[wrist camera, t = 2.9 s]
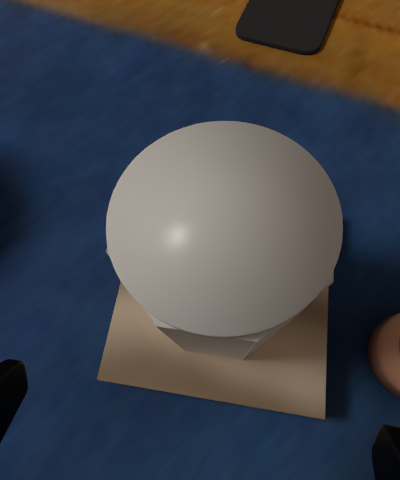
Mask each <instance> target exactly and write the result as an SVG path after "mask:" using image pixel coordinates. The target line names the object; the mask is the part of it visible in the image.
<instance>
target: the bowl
mask: <svg viewBox="0 0 400 480" xmlns="http://www.w3.org/2000/svg"><path fill="white" fill-rule="evenodd" d="M367 355H368V361H369V364H370V367H371V370H372V372H373V374H374V376H375V377H376V379H377V380H378V382H379V383H380V384H381V385H382V386H383V387H384V388H385V389H386V390H387V391H388V392H389V393H391V394H392V395H394V396H395V397H397V398H399V399H400V313H398V314H396V315H393V316H391V317H388V318H386V319H384V320H382V321H381V322H380V323H378V324H377V325H376V327H375V328H374V329H373V331H372V332H371V335H370V337H369V340H368V346H367Z"/></svg>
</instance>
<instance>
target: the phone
mask: <svg viewBox="0 0 400 480" xmlns="http://www.w3.org/2000/svg"><path fill="white" fill-rule="evenodd" d="M338 2H339V0H249V2H248V4H247V6H246V8H245V10H244V11H243V13H242V15H241V17H240V19H239V21H238V23H237V26H236V35H237V36H238V37H239V38H240V39H242V40H244V41H248V42H251V43H255V44H260V45H264V46H268V47H272V48H276V49H280V50H284V51H288V52H292V53H296V54H301V55H312V54H314V53H316V52H317V51H318V50H319V49H320V47H321V45H322V42H323V40H324V37H325V35H326V32H327V30H328V27H329V25H330V22H331V20H332V17H333V15H334V12H335V10H336V7H337V5H338Z"/></svg>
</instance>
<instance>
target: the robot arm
mask: <svg viewBox="0 0 400 480" xmlns="http://www.w3.org/2000/svg"><path fill="white" fill-rule="evenodd" d="M27 389H28V381H27V375H26V369H25V364H24V363H23V362H22V361H18V360H12V359H8V360H5V361H3V362H1V363H0V443H1V441H2V439H3V437H4V435H5V433H6V431H7V429H8V427H9V426H10V424H11V422H12V420H13V418H14V416H15V414H16V412H17V410H18V408H19V406H20V404H21V403H22V401H23V399H24V397H25V395H26V392H27ZM372 462H373V468H374V474H375V480H400V427H397V426H391V425H382V426H381V427H380V429H379V431H378V434H377V436H376V439H375V442H374V444H373V447H372Z"/></svg>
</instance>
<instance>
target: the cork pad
mask: <svg viewBox="0 0 400 480" xmlns="http://www.w3.org/2000/svg"><path fill="white" fill-rule="evenodd" d="M327 324H328V288H326V289H325V290H324V291H323V292H322V293H321V294H320V295H319V296H318V297H317V298H315V299H314V300H313V301H312V302H311V303H310V304H309V305H308V306H307V307H306V308H304V309H303V310H302V311H301V312H300V313H299V314H298V315H297V316H296V317H295V318H293V319H292V320H291V321H290V322H289V323H288V324H287V325H285V326H284V327H283V328H281V329H280V330H279V331H278V332H276V333H275V334H274V335H272V336H271V337H270V338H269V339H267V340H266V341H265V342H264V343H262V344H261V345H260V346H259V347H257V348H256V349H255V350H254V351H252V352H251V353H250V354H248V355H247V356H246V357H245V358H243V360H240V359H234V358H228V357H221V356H215V355H209V354H203V353H197V352H190V351H184V350H183V349H182V348H180V347H179V346H178V345H177V344H176V343H175V342H173V341H172V340H171V339H170V338H169V337H168V336H166V335H165V334H164V333H163V332H162V331H161V330H159V329H158V328H157V327H156V325H155V324H154V322H153V321H152V319H151V318H150V316H149V315H148V313H147V312H146V310H145V309H144V307H143V306H142V305H141V304H139V303H138V302H137V301H136V300H135V299H134V298H133V297H132V296H131V294H130V293H129V292H128V290H127V289H126V288H125V286H124V285H123V284H122V282H121V283H120V288H119V292H118V296H117V300H116V304H115V308H114V312H113V316H112V320H111V324H110V328H109V333H108V337H107V341H106V345H105V349H104V353H103V357H102V361H101V365H100V369H99V373H98V378H97V380H102V381H107V382H113V383H119V384H125V385H130V386H136V387H142V388H147V389H153V390H159V391H165V392H170V393H176V394H182V395H188V396H193V397H199V398H205V399H210V400H216V401H222V402H228V403H233V404H239V405H245V406H250V407H256V408H262V409H268V410H273V411H279V412H285V413H291V414H296V415H302V416H308V417H313V418H319V419H325V399H326V362H327Z"/></svg>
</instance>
